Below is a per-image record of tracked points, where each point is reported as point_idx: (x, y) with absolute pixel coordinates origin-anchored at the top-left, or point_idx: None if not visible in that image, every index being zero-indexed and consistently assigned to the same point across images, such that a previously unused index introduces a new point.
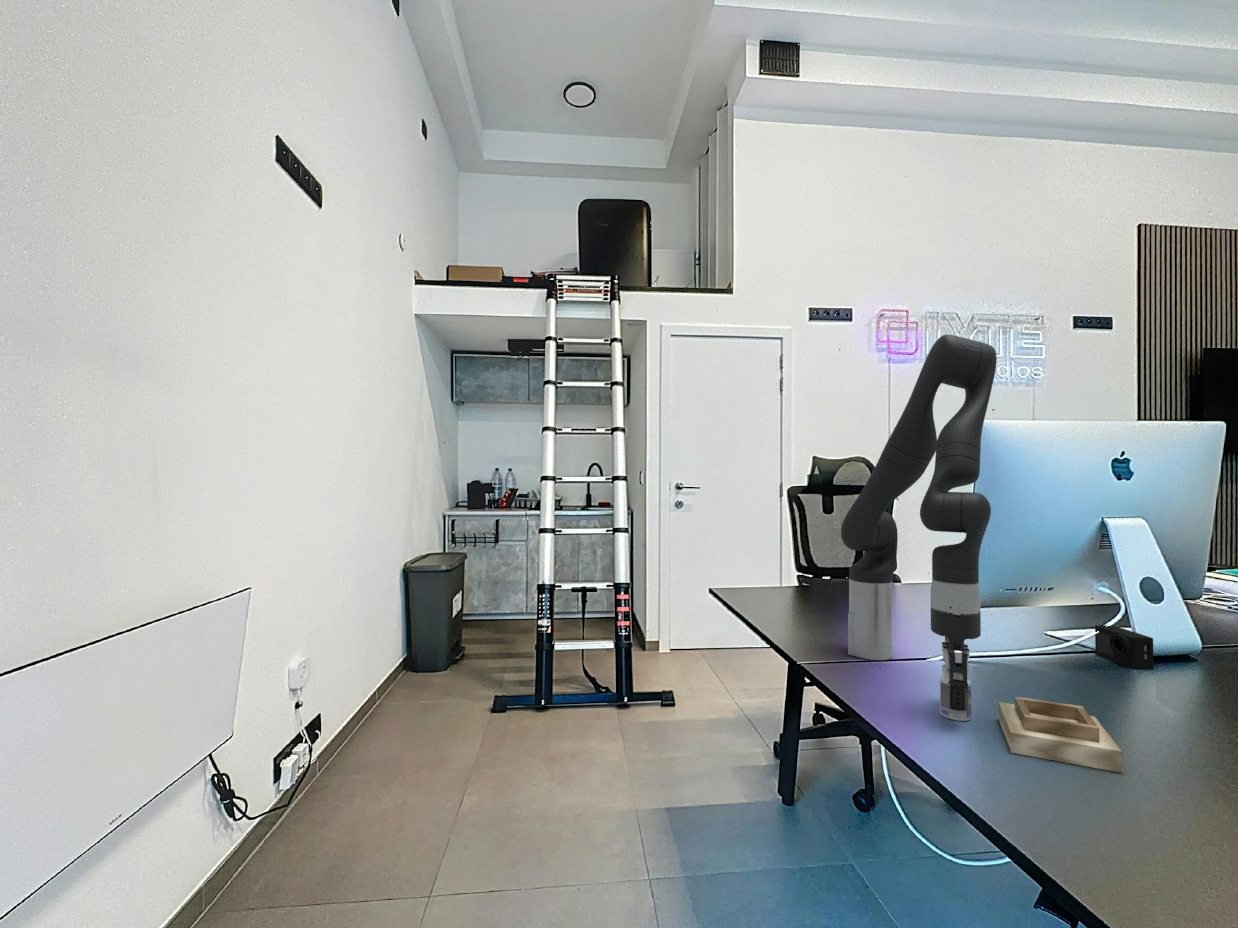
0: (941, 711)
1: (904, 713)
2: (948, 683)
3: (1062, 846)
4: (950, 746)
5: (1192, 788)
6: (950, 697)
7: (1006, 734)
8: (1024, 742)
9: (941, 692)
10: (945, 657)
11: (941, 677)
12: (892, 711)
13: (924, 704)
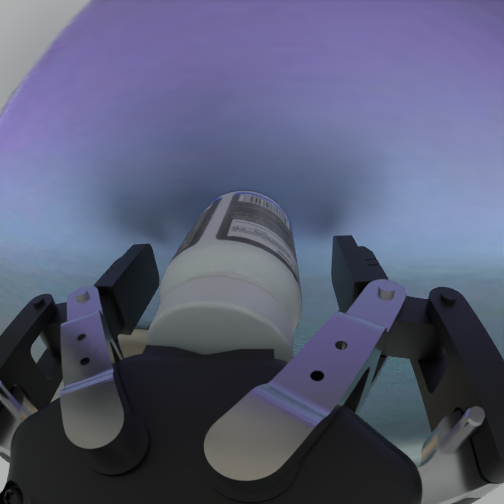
0: (218, 197)
1: (167, 82)
2: (77, 290)
3: None
4: (41, 225)
5: None
6: (119, 263)
7: (145, 338)
8: None
9: (200, 225)
10: (64, 374)
11: (208, 256)
12: (164, 46)
13: (305, 136)
